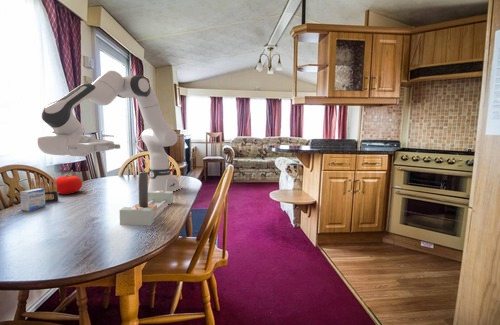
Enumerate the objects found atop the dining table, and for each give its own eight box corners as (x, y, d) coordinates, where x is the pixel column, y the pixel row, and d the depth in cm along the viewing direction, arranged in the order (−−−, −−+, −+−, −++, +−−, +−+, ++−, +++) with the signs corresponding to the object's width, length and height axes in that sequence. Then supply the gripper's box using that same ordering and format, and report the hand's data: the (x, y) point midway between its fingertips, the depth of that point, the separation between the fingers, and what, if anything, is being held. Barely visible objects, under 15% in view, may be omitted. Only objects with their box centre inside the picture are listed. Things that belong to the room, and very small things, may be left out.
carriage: (136, 208, 117) (136, 170, 115) (157, 209, 118) (156, 171, 116) (129, 214, 109) (128, 173, 107) (150, 214, 110) (150, 174, 108)
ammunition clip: (31, 203, 129) (29, 179, 127) (31, 202, 130) (30, 178, 129) (57, 201, 134) (56, 178, 133) (58, 200, 136) (57, 177, 134)
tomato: (61, 190, 156) (60, 173, 155) (85, 190, 159) (85, 173, 158) (49, 196, 142) (48, 177, 141) (76, 195, 145) (75, 177, 144)
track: (150, 201, 139) (150, 189, 138) (173, 202, 139) (173, 190, 138) (119, 224, 105) (119, 209, 104) (150, 225, 105) (149, 209, 104)
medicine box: (28, 211, 117) (27, 192, 116) (20, 210, 118) (19, 191, 117) (45, 206, 125) (44, 188, 124) (38, 205, 126) (37, 187, 125)
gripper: (63, 139, 99) (100, 141, 100) (94, 137, 120) (124, 139, 120) (64, 155, 100) (101, 157, 100) (94, 151, 120) (125, 152, 121)
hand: (114, 147), depth 110 cm, fingers open, 8 cm apart
